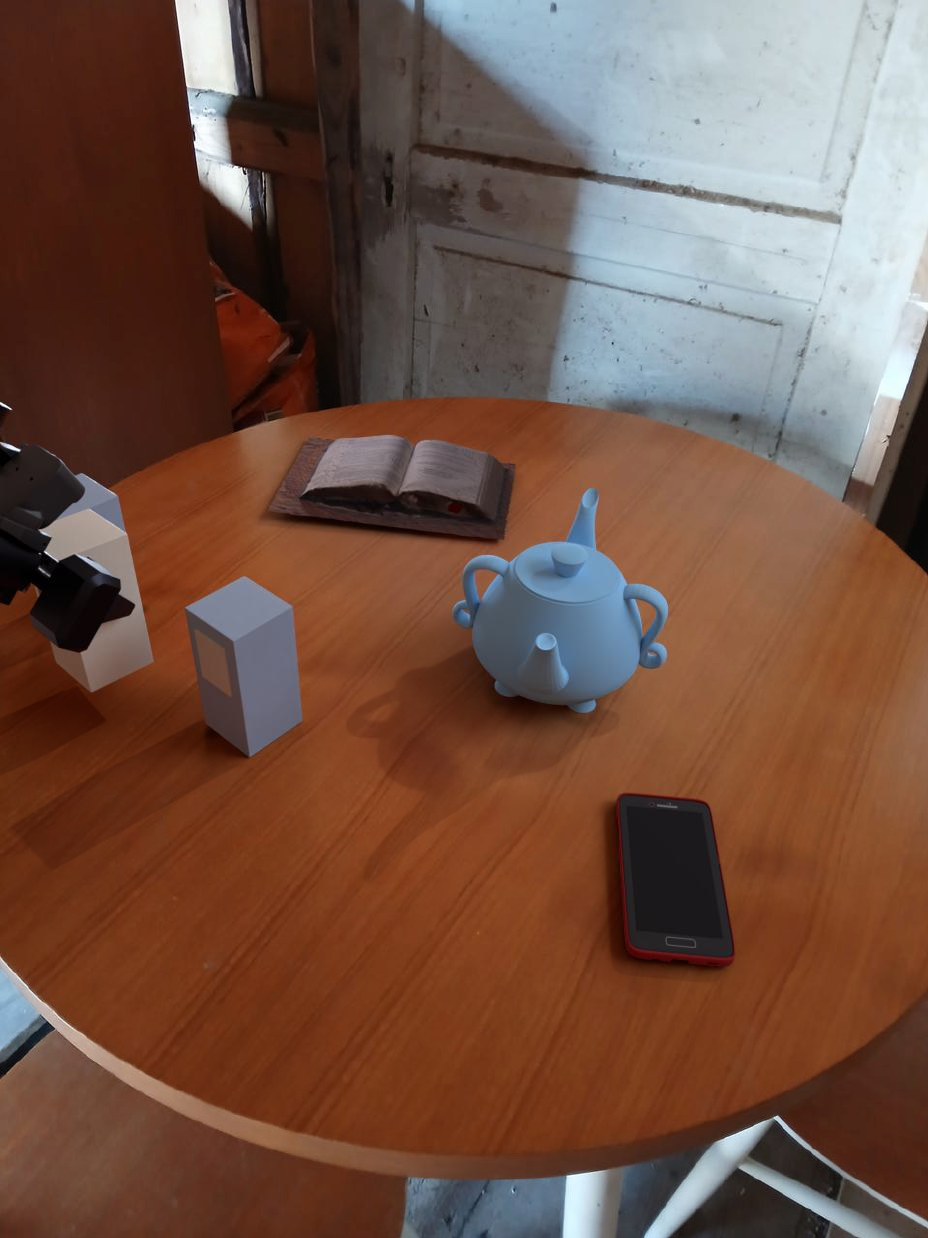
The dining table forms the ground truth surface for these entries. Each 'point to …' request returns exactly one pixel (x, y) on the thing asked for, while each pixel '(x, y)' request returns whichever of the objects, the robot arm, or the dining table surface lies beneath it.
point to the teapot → (561, 620)
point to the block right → (246, 664)
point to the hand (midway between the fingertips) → (107, 591)
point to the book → (399, 485)
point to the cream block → (126, 638)
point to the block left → (97, 502)
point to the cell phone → (672, 881)
